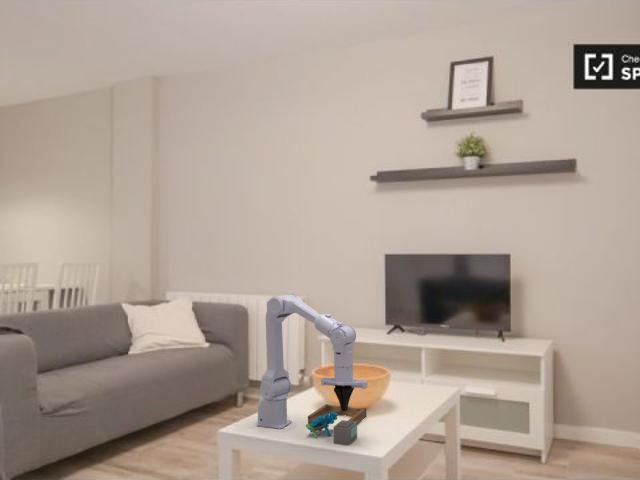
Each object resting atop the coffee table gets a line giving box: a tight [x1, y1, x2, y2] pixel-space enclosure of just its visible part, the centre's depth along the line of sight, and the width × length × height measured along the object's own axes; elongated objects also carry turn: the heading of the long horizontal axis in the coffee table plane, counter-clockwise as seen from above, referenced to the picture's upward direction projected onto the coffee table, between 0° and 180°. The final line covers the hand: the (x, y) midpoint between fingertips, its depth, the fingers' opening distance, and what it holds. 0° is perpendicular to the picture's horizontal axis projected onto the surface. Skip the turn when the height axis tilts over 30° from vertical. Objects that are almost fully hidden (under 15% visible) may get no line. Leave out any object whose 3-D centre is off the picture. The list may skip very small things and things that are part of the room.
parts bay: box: [307, 403, 367, 426], centre depth 195 cm, size 15×15×3 cm
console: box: [333, 419, 358, 446], centre depth 175 cm, size 5×7×5 cm
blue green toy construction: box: [305, 412, 339, 439], centre depth 181 cm, size 11×6×10 cm
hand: (344, 410), depth 175 cm, fingers closed
